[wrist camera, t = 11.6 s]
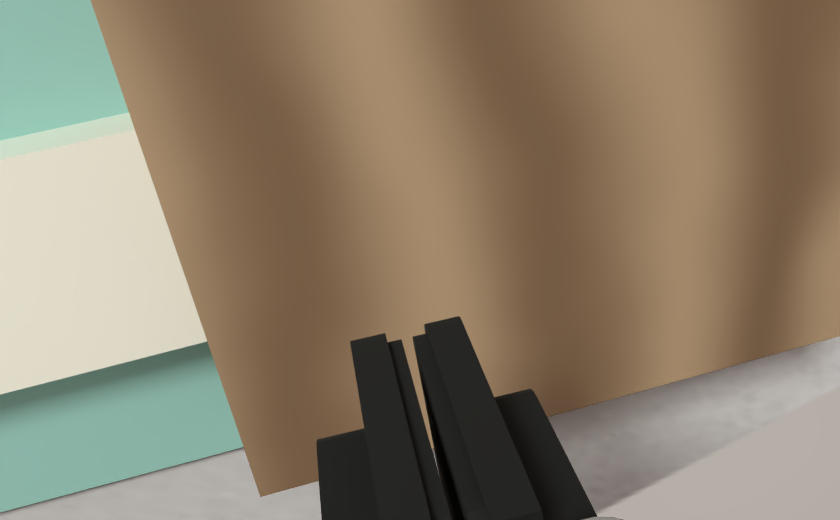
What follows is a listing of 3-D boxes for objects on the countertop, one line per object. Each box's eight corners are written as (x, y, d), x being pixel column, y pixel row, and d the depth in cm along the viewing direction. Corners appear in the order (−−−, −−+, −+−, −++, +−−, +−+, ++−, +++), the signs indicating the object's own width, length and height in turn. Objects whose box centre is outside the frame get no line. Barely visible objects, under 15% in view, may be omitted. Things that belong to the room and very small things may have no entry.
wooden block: (786, -176, 21) (901, -191, 17) (765, 277, 27) (845, 334, 23) (108, -49, 19) (77, -36, 15) (257, 411, 25) (260, 496, 21)
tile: (154, 106, 20) (146, 127, 18) (219, 304, 23) (218, 338, 21) (-215, 187, 19) (-261, 217, 17) (-100, 384, 22) (-130, 427, 20)
